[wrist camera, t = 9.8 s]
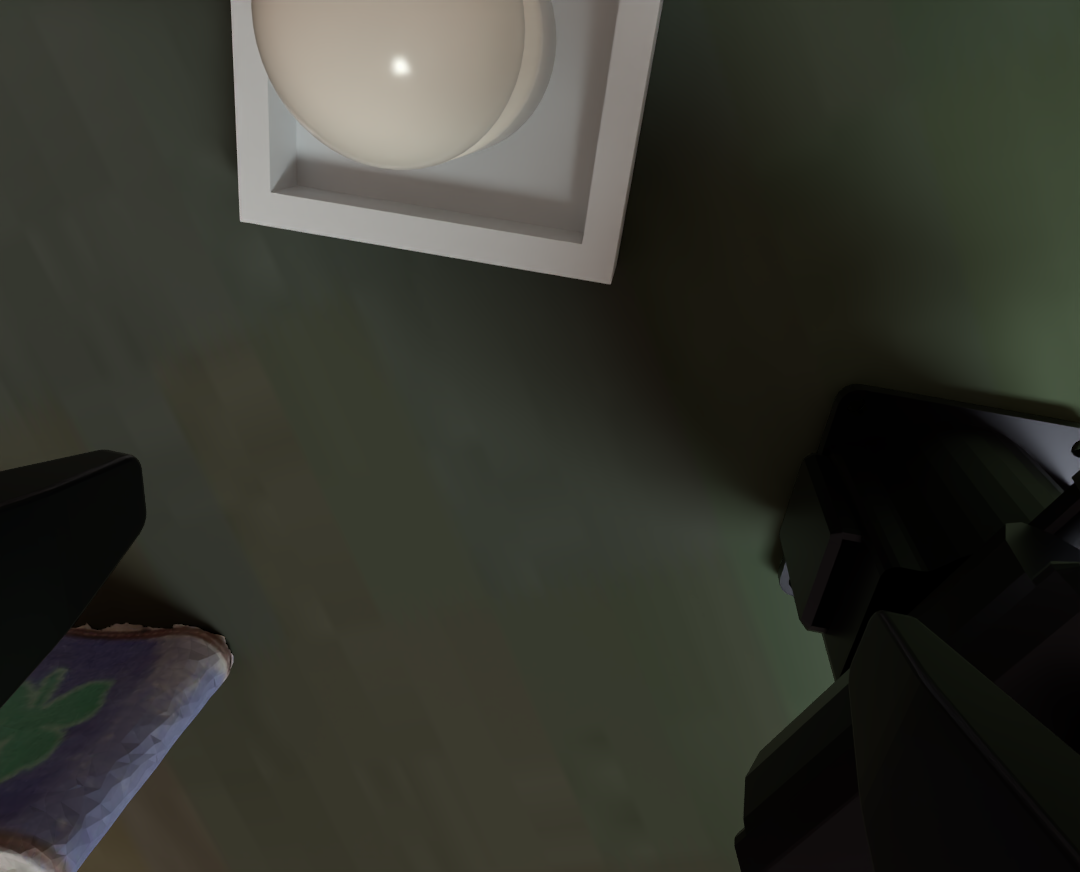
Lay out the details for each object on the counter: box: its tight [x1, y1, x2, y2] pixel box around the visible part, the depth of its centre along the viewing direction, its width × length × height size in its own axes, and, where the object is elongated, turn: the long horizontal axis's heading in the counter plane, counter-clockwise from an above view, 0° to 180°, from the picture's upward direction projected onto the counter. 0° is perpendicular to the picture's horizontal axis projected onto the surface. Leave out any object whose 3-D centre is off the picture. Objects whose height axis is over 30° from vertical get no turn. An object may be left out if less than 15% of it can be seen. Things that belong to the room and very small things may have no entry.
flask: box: [0, 622, 233, 872], centre depth 23 cm, size 9×3×11 cm, turn 96°
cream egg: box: [251, 0, 557, 170], centre depth 14 cm, size 5×5×6 cm
